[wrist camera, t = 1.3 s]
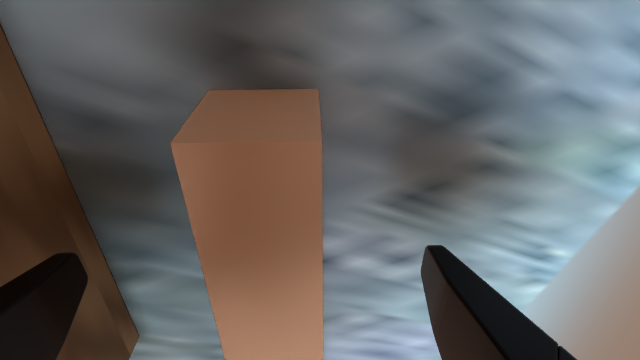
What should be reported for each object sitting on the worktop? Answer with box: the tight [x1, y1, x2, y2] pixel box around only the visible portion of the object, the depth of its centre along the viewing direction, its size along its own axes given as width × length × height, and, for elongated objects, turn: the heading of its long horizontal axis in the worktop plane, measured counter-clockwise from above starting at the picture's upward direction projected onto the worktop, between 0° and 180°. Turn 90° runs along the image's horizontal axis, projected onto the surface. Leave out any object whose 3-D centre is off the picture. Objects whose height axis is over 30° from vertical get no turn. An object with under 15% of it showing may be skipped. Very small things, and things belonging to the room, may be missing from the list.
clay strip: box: [170, 89, 323, 360], centre depth 14 cm, size 15×4×4 cm, turn 0°
